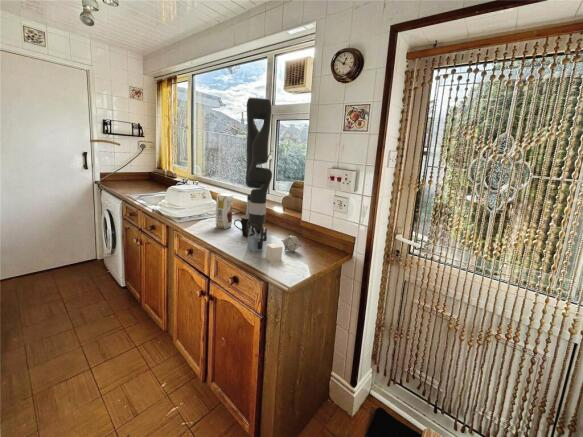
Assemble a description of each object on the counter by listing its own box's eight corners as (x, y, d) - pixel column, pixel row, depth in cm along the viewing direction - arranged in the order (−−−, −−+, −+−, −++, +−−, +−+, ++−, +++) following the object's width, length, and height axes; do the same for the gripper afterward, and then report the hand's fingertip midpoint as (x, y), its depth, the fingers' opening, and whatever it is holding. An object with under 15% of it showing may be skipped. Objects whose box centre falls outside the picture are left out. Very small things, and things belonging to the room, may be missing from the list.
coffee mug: (257, 234, 163) (259, 216, 161) (254, 238, 155) (255, 219, 153) (237, 232, 164) (238, 214, 162) (232, 236, 156) (233, 217, 154)
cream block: (265, 257, 129) (266, 244, 128) (274, 256, 132) (276, 243, 131) (271, 261, 125) (272, 248, 124) (281, 260, 128) (282, 246, 127)
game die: (293, 258, 142) (308, 243, 140) (285, 256, 134) (300, 241, 133) (282, 245, 146) (296, 230, 144) (274, 242, 138) (288, 227, 137)
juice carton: (213, 227, 169) (215, 194, 165) (221, 224, 177) (222, 192, 173) (225, 229, 167) (227, 196, 163) (233, 226, 175) (234, 194, 171)
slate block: (247, 248, 139) (248, 236, 138) (256, 247, 142) (257, 235, 141) (252, 251, 135) (253, 239, 134) (262, 250, 138) (263, 237, 137)
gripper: (242, 209, 138) (240, 242, 141) (258, 216, 127) (255, 252, 131) (256, 208, 143) (254, 241, 146) (273, 215, 132) (270, 250, 135)
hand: (255, 246), depth 138 cm, fingers open, 8 cm apart
